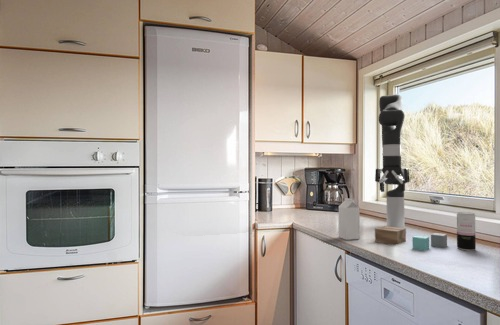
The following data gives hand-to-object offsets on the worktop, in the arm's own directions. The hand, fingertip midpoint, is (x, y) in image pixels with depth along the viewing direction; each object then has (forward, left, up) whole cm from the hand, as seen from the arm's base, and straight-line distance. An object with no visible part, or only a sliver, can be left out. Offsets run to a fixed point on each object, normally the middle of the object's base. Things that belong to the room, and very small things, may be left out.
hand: (392, 192), depth 153 cm
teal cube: (-1, +11, -23) cm, 26 cm away
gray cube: (-12, +15, -23) cm, 30 cm away
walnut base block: (-7, -4, -23) cm, 25 cm away
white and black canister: (-13, +25, -23) cm, 37 cm away
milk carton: (0, -21, -23) cm, 31 cm away
